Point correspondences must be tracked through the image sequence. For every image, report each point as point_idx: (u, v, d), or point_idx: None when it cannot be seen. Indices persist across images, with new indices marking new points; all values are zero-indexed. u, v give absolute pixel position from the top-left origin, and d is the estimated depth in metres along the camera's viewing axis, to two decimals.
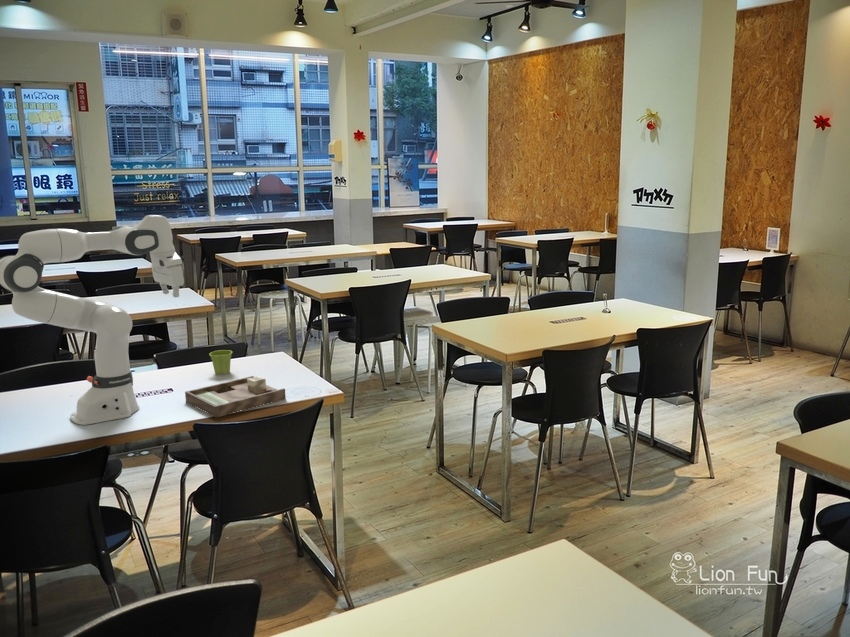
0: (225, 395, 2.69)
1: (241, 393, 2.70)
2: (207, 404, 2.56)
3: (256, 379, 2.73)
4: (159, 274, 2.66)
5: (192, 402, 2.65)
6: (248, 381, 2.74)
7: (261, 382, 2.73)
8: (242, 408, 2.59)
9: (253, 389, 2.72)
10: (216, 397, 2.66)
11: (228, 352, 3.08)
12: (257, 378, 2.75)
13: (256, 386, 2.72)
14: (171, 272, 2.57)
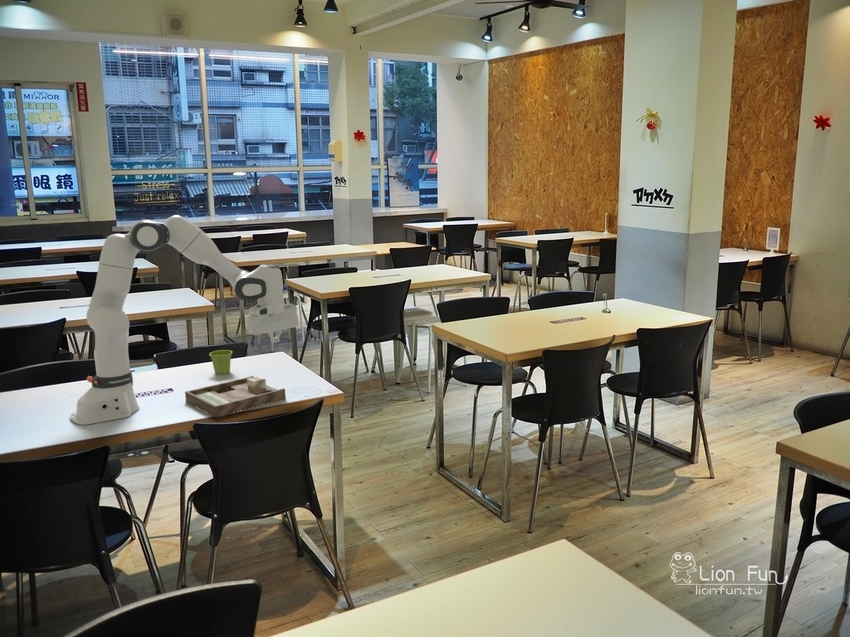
0: (225, 395, 2.69)
1: (241, 393, 2.70)
2: (207, 404, 2.56)
3: (256, 379, 2.73)
4: None
5: (192, 402, 2.65)
6: (248, 381, 2.74)
7: (261, 382, 2.73)
8: (242, 408, 2.59)
9: (253, 389, 2.72)
10: (216, 397, 2.66)
11: (228, 352, 3.08)
12: (257, 378, 2.75)
13: (256, 386, 2.72)
14: (248, 319, 2.71)
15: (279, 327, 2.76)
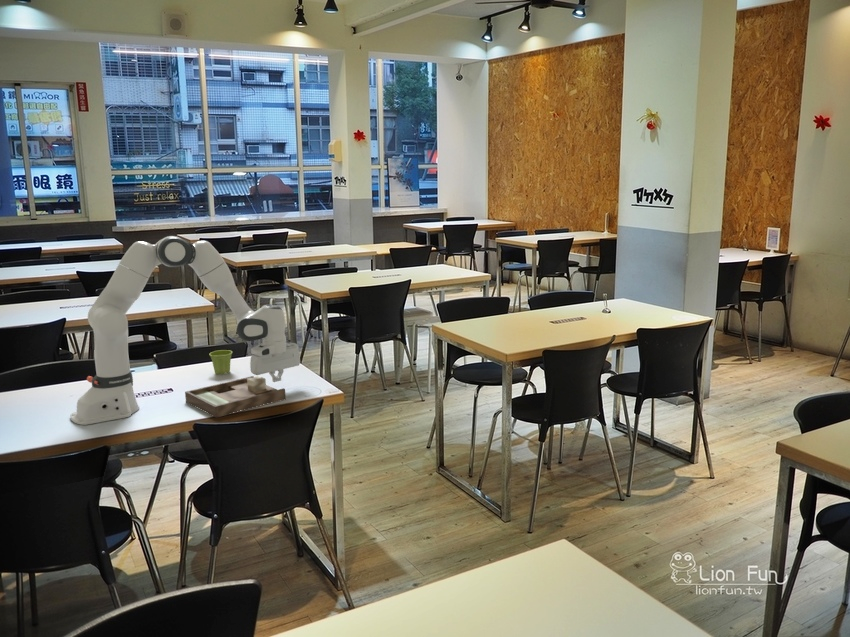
0: (225, 395, 2.69)
1: (241, 393, 2.70)
2: (207, 404, 2.56)
3: (256, 379, 2.73)
4: None
5: (192, 402, 2.65)
6: (248, 381, 2.74)
7: (261, 382, 2.73)
8: (242, 408, 2.59)
9: (253, 389, 2.72)
10: (216, 397, 2.66)
11: (228, 352, 3.08)
12: (257, 378, 2.75)
13: (256, 386, 2.72)
14: None
15: (281, 366, 2.79)
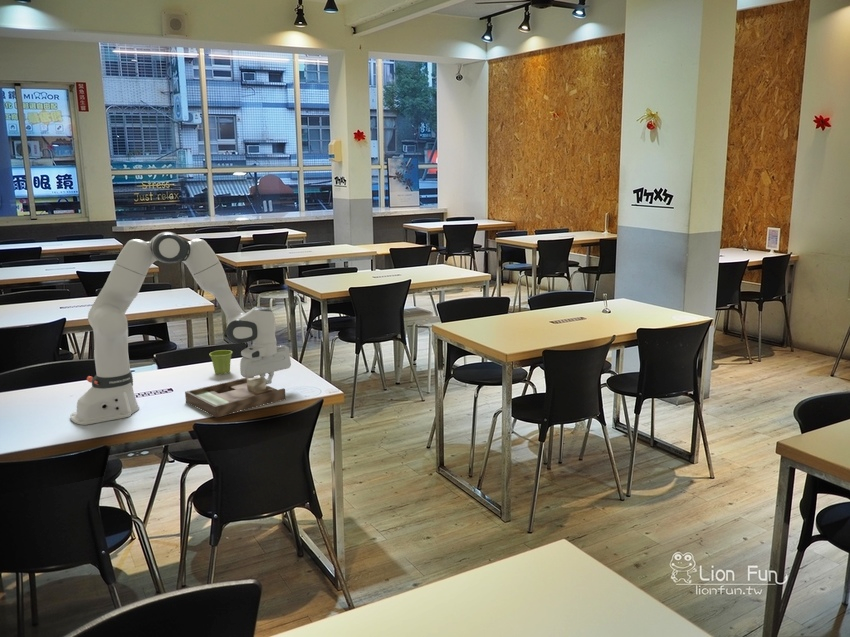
0: (225, 395, 2.69)
1: (241, 393, 2.70)
2: (207, 404, 2.56)
3: (256, 379, 2.73)
4: None
5: (192, 402, 2.65)
6: (248, 381, 2.74)
7: (261, 382, 2.73)
8: (242, 408, 2.59)
9: (253, 389, 2.72)
10: (216, 397, 2.66)
11: (228, 352, 3.08)
12: (257, 378, 2.75)
13: (256, 386, 2.72)
14: (240, 362, 2.71)
15: (271, 369, 2.76)
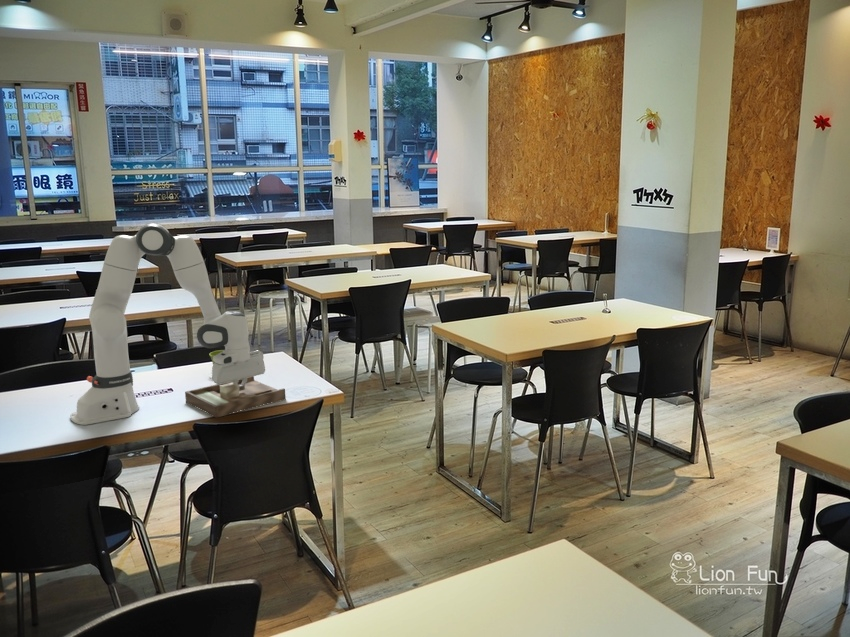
0: None
1: (241, 393, 2.70)
2: (207, 404, 2.56)
3: (229, 386, 2.66)
4: None
5: (192, 402, 2.65)
6: (221, 388, 2.66)
7: (234, 389, 2.66)
8: (242, 408, 2.59)
9: (226, 396, 2.65)
10: (216, 397, 2.66)
11: None
12: (230, 385, 2.67)
13: (229, 393, 2.65)
14: (212, 368, 2.64)
15: (244, 375, 2.69)
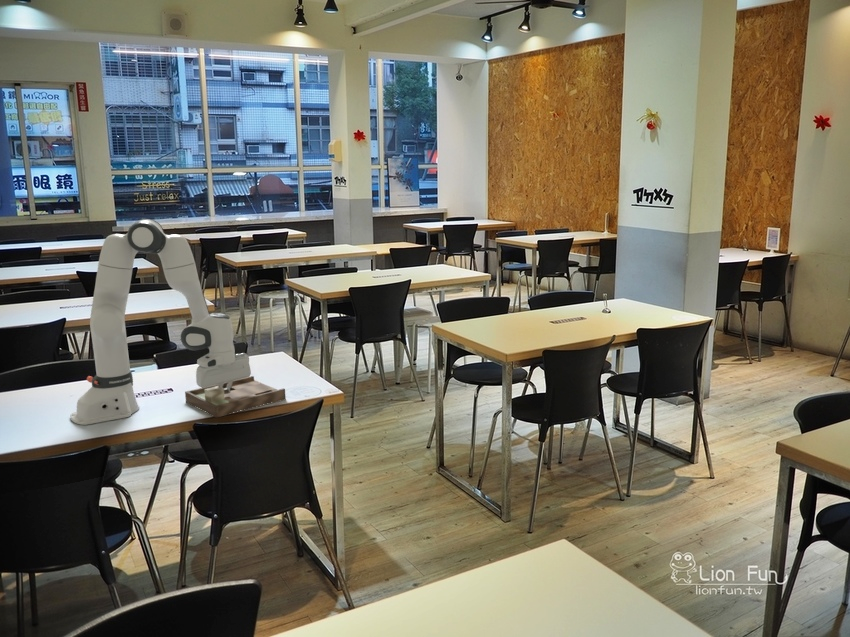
0: (225, 395, 2.69)
1: (241, 393, 2.70)
2: (207, 404, 2.56)
3: (214, 389, 2.62)
4: None
5: (192, 402, 2.65)
6: (205, 392, 2.62)
7: (219, 393, 2.62)
8: (242, 408, 2.59)
9: (210, 400, 2.60)
10: None
11: None
12: (215, 388, 2.63)
13: (214, 397, 2.60)
14: (196, 371, 2.60)
15: (229, 378, 2.65)
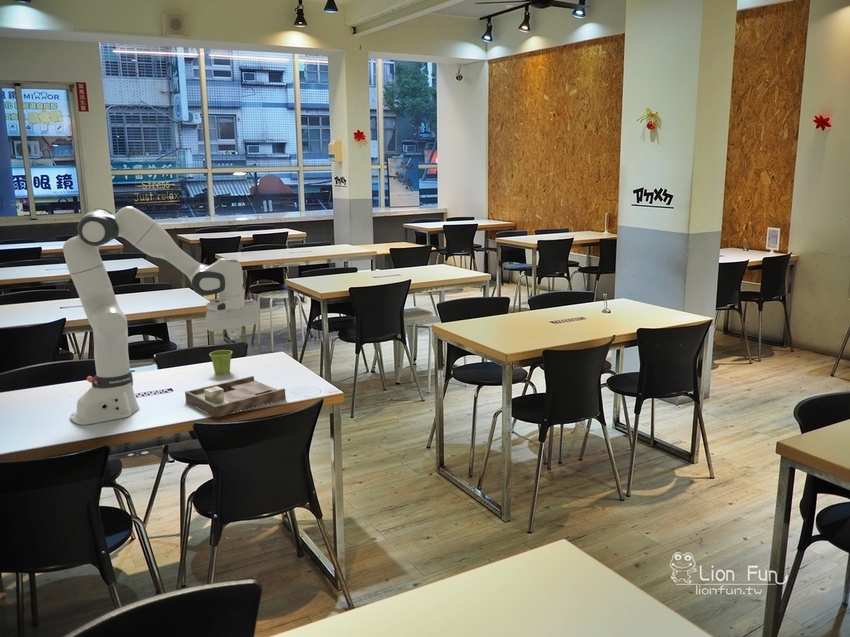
0: (225, 395, 2.69)
1: (241, 393, 2.70)
2: (207, 404, 2.56)
3: (213, 390, 2.62)
4: None
5: (192, 402, 2.65)
6: (205, 392, 2.62)
7: (218, 393, 2.62)
8: (242, 408, 2.59)
9: (210, 400, 2.60)
10: None
11: (228, 352, 3.08)
12: (215, 388, 2.63)
13: (214, 397, 2.60)
14: (206, 315, 2.60)
15: (239, 323, 2.65)
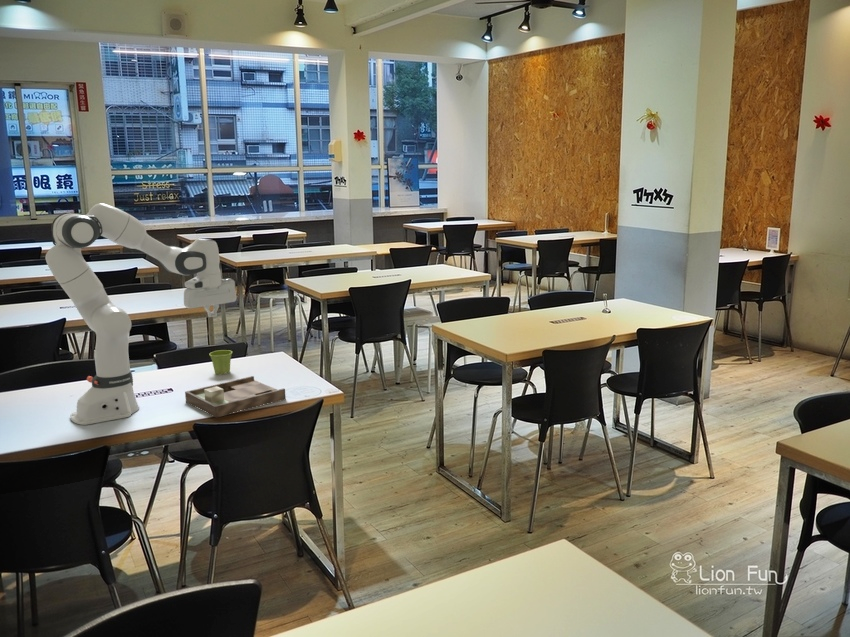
0: (225, 395, 2.69)
1: (241, 393, 2.70)
2: (207, 404, 2.56)
3: (213, 390, 2.62)
4: None
5: (192, 402, 2.65)
6: (205, 392, 2.62)
7: (218, 393, 2.62)
8: (242, 408, 2.59)
9: (210, 400, 2.60)
10: None
11: (228, 352, 3.08)
12: (215, 388, 2.63)
13: (214, 397, 2.60)
14: (184, 293, 2.71)
15: (216, 301, 2.76)
